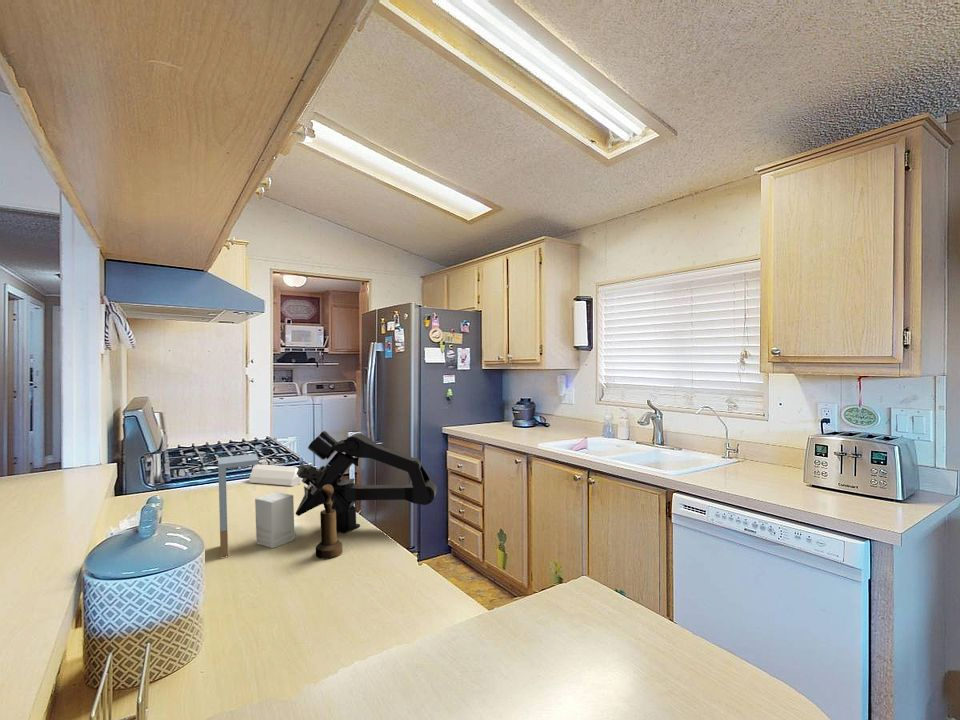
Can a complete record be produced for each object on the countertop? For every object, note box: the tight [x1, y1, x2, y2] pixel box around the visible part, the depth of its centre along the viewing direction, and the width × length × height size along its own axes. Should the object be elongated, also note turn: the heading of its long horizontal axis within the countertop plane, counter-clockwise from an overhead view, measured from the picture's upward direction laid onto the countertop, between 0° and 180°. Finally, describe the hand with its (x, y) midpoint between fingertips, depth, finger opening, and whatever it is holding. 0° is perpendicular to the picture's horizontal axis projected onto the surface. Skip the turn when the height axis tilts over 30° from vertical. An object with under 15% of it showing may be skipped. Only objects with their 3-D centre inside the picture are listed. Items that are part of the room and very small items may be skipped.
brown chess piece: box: [315, 484, 343, 560], centre depth 125 cm, size 7×6×18 cm
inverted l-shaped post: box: [217, 453, 260, 558], centre depth 129 cm, size 9×9×24 cm
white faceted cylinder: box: [248, 464, 303, 487], centre depth 194 cm, size 7×7×24 cm
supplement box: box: [254, 491, 296, 549], centre depth 133 cm, size 7×7×13 cm
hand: (296, 514), depth 136 cm, fingers closed
